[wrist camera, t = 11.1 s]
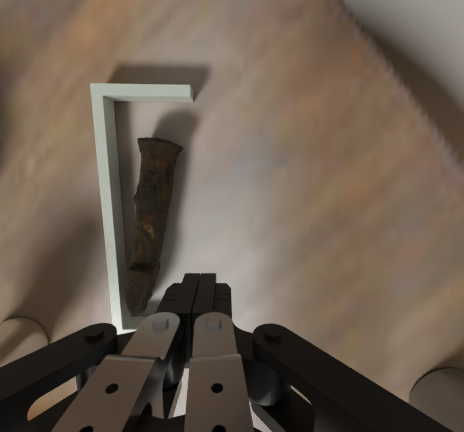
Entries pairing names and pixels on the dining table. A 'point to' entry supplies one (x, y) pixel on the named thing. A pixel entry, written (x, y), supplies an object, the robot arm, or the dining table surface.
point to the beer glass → (20, 339)
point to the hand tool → (149, 219)
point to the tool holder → (110, 181)
